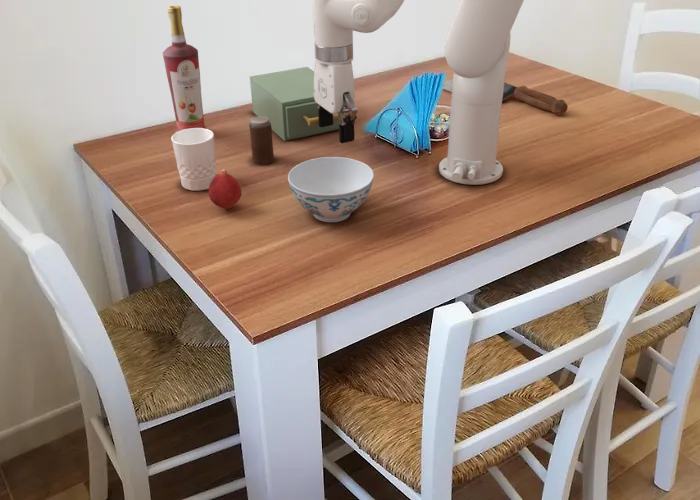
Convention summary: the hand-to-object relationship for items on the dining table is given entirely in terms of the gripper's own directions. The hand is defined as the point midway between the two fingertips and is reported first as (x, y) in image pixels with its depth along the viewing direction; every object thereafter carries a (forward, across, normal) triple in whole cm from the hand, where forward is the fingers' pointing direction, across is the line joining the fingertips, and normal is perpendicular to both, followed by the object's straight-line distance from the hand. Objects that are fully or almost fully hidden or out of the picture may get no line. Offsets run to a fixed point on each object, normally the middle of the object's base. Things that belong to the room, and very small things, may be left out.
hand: (336, 133), depth 148 cm
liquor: (+5, -25, -24) cm, 35 cm away
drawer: (+4, -17, 0) cm, 18 cm away
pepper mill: (+4, -4, -15) cm, 16 cm away
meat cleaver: (+5, -8, +49) cm, 50 cm away
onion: (+5, +12, -29) cm, 31 cm away
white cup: (+5, -1, -30) cm, 30 cm away
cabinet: (+4, -21, 0) cm, 22 cm away
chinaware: (+5, +23, -12) cm, 26 cm away
